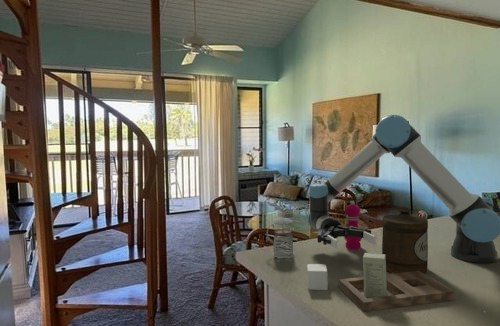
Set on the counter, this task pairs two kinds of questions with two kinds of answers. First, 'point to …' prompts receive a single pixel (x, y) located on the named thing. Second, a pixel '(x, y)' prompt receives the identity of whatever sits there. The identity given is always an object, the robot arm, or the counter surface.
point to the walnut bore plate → (399, 291)
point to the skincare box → (374, 275)
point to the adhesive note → (317, 276)
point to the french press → (282, 238)
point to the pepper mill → (353, 219)
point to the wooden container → (405, 242)
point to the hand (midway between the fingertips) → (355, 242)
